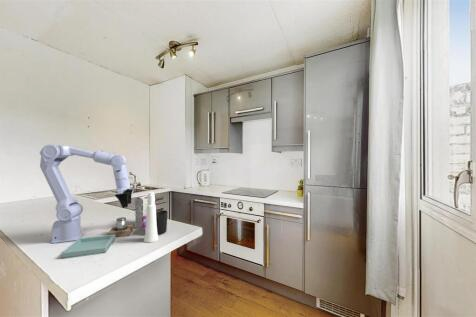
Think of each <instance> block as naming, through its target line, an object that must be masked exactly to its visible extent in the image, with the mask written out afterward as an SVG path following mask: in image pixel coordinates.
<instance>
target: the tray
mask: <svg viewBox="0 0 476 317" xmlns="http://www.w3.org/2000/svg"><path fill="white" fill-rule="evenodd" d="M116 238H117V237H116V234H114V235H108V234H106V235H99V236H90V237H80V238H79V239H78V240H75V241H74V242H73V243H71V245H70V246H68V247H67V248H66V249H65V250H64V251H63V252H62V253H61V260H63V259H70V258H78V257H84V256H91V255H99V254H106V253H107V251H108V250H109V249H110V247H111V246H112V244H113V243H114V241H115V240H116Z"/></svg>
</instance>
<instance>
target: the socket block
mask: <svg viewBox="0 0 476 317" xmlns="http://www.w3.org/2000/svg"><path fill="white" fill-rule="evenodd" d="M133 230H134V224H128V225H127V224H126V230H120V231H117V226H113V227H111V229H110V230H109V231H108V232H107V235H114V234H116V238H123V237H130V236H131V234H132V232H133Z"/></svg>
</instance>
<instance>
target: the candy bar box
mask: <svg viewBox="0 0 476 317" xmlns="http://www.w3.org/2000/svg"><path fill="white" fill-rule="evenodd" d="M134 205H135V206H134V208H135V209H134V213H135V214H134V216H135V220H134V221H135V229H137V228H138V229H140V230H141V229H142V230H143V229H146V213H147V205H148V194H145V195H142V196H138V197H135V198H134Z"/></svg>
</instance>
